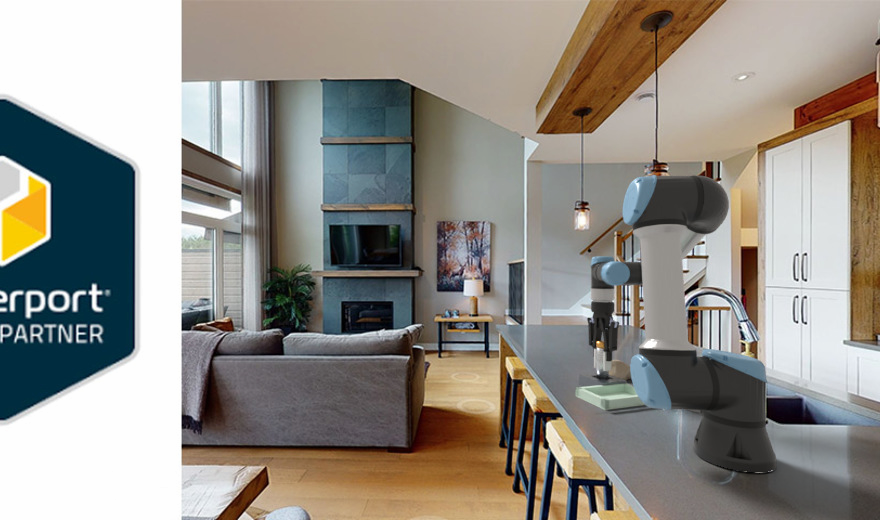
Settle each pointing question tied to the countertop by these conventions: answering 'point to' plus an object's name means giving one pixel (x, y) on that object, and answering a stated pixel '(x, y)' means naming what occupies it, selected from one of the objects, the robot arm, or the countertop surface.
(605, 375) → the clear bottle
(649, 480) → the countertop surface
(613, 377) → the hitch block
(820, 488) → the countertop surface
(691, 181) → the robot arm
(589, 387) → the tray
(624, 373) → the stone
